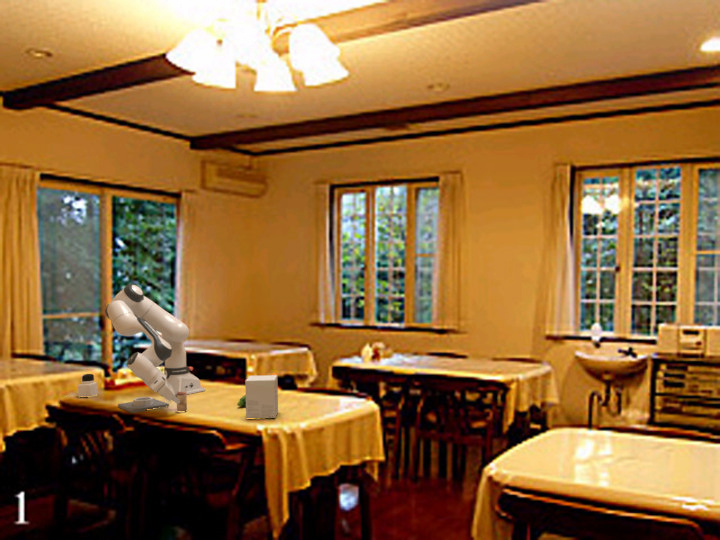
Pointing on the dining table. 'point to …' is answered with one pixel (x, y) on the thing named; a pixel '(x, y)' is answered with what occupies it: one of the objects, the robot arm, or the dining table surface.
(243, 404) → the vegetable
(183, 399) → the oak peg
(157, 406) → the ring collar board
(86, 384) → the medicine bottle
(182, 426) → the dining table surface
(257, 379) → the supplement box
